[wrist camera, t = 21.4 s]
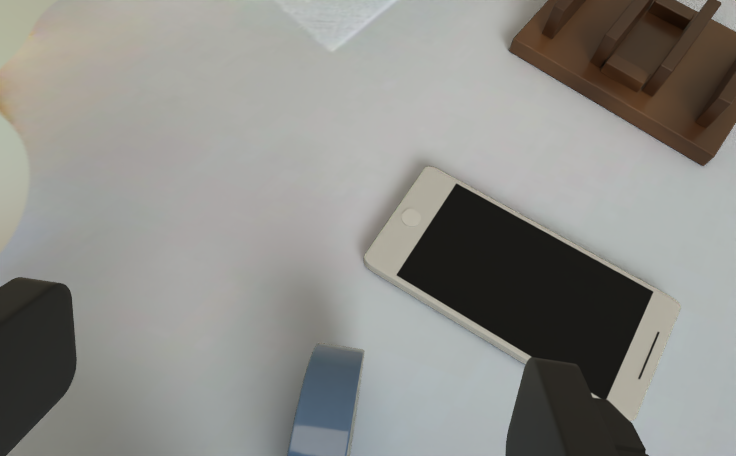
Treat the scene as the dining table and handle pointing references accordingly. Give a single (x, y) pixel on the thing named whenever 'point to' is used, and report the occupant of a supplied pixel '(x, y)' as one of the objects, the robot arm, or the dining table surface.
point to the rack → (643, 65)
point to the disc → (327, 402)
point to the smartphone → (524, 287)
